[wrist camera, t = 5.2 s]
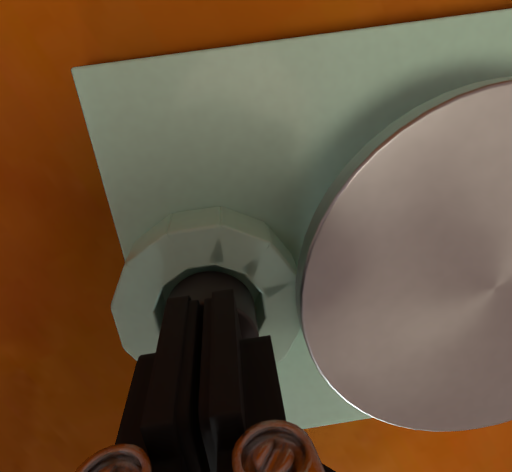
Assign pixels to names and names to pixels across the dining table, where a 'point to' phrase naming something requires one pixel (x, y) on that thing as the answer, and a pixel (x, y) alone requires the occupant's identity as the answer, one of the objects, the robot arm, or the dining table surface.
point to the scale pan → (419, 267)
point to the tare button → (211, 281)
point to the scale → (258, 163)
